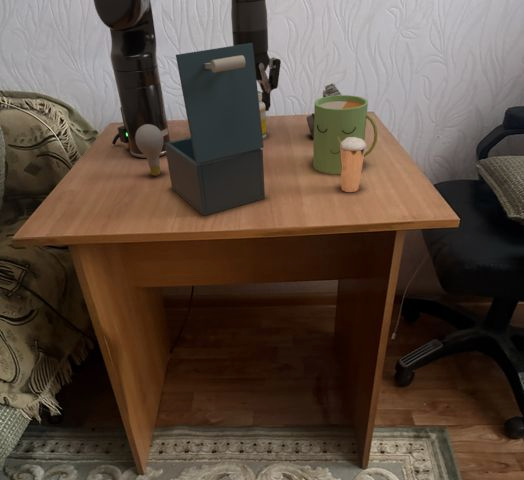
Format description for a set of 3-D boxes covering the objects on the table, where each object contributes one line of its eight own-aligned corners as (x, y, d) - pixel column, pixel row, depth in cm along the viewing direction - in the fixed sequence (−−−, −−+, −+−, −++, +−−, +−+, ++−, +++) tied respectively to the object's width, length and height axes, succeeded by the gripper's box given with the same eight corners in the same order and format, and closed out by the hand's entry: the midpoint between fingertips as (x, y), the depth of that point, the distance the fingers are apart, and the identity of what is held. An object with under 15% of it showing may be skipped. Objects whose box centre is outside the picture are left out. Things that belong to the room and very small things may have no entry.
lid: (175, 54, 72) (188, 54, 68) (250, 43, 76) (266, 41, 72) (195, 163, 80) (207, 168, 77) (261, 147, 85) (276, 150, 81)
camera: (309, 132, 123) (298, 91, 117) (342, 120, 122) (333, 77, 115) (317, 154, 111) (306, 109, 105) (354, 141, 110) (345, 94, 103)
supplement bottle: (270, 134, 118) (269, 91, 112) (259, 141, 115) (257, 96, 108) (251, 132, 120) (249, 89, 114) (240, 138, 117) (237, 94, 111)
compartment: (172, 189, 96) (164, 142, 90) (229, 174, 100) (224, 129, 95) (203, 216, 86) (196, 166, 80) (264, 198, 91) (262, 150, 85)
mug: (307, 172, 99) (308, 108, 91) (319, 154, 106) (321, 94, 99) (369, 177, 96) (376, 112, 88) (378, 158, 103) (384, 96, 95)
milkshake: (329, 187, 93) (332, 132, 86) (354, 182, 94) (359, 128, 88) (340, 196, 90) (344, 140, 83) (366, 191, 91) (371, 135, 84)
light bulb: (173, 171, 103) (165, 121, 96) (162, 181, 99) (153, 129, 92) (150, 169, 104) (140, 120, 98) (138, 179, 100) (127, 128, 94)
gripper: (269, 20, 108) (272, 103, 119) (211, 29, 103) (219, 114, 114) (288, 24, 103) (288, 110, 114) (227, 33, 98) (234, 122, 109)
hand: (254, 112), depth 114 cm, fingers closed on supplement bottle, 5 cm apart
